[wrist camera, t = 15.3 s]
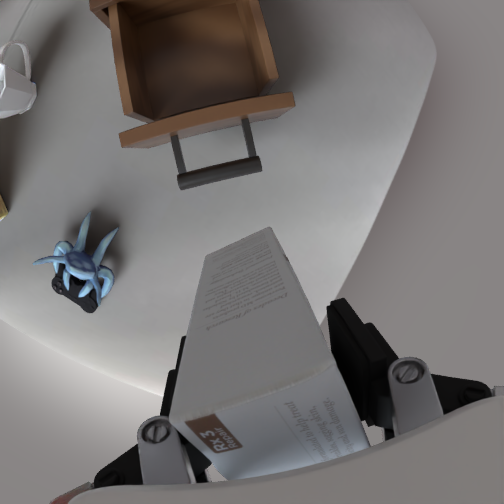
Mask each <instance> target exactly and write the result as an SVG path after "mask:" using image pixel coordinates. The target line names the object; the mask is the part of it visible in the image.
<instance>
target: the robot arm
mask: <svg viewBox="0 0 504 504" xmlns="http://www.w3.org/2000/svg"><path fill="white" fill-rule="evenodd" d="M327 317H328V325H329V334H330V343H331V353H332V355H333V357H334V359H335V361H336V365H337V368H338V370H339V372H340V374H341V376H342V378H343V380H344V382H345V384H346V387H347V389H348V391H349V394H350V396H351V399H352V401H353V403H354V406H355V408H356V410H357V413H358V415H359V418H360V420H361V421H364V420H365V421H366V423H367V425H368V427H369V426H372V425H375V426H378V427H382V436H383V442H382V443H380V444H377V445H374V446H371V447H369V448H366V449H363V450H360V451H357V452H354V453H351V454H348V455H345V456H342V457H338V458H335V459H332V460H328V461H325V462H321V463H317V464H314V465H310V466H306V467H302V468H297V469H293V470H289V471H284V472H279V473H274V474H268V475H263V476H257V477H251V478H244V479H237V480H228V481H220V482H212V481H211V478H210V476H209V473H208V470H207V468H208V467H209V466H210V465H211V464H212V462H211V461H210V460H209V459H208V458H207V457H206V456H205V455H204V454H203V453H202V452H201V451H199V450H198V449H197V448H196V447H195V446H194V445H193V444H192V443H191V442H190V441H188V440H187V439H186V438H185V437H184V436H183V435H182V434H181V433H180V432H179V431H178V430H177V429H176V428H175V427H174V426H173V425H172V424H171V423H170V421H169V414H170V410H171V406H172V400H173V395H174V391H175V386H176V381H177V376H178V372H179V367H180V362H181V358H182V353H183V349H184V344H185V340H186V336H183V337H182V338H181V343H180V348H179V353H178V358H177V363H176V369H174V370H170V371H169V373H168V377H167V382H166V387H165V392H164V397H163V402H162V407H161V412H160V416H155V417H152V418H149V419H148V420H146V421H145V422H143V423H142V425H141V426H140V427H139V429H138V432H137V440H138V444H136V445H135V446H134V447H132V448H131V449H130V450H128V451H127V452H125V453H124V454H123V455H121V456H120V457H118V458H117V459H116V460H114V461H113V462H111V463H110V464H108V465H107V466H105V467H104V468H103V469H101V470H100V471H99V472H98V473H97V475H96V476H95V479H94V483H92V484H91V483H90V482H87V483H85V484H83V485H81V486H79V487H77V488H75V489H73V490H71V491H69V492H67V493H65V494H63V495H61V496H59V497H57V498H55V499H53V500H52V501H51V502H50V504H504V386H494V388H493V389H490V388H489V387H488V386H487V385H486V384H484V383H482V382H479V381H473V380H467V379H460V378H452V377H447V376H441V375H435V374H430V371H429V368H428V366H427V365H426V363H425V362H424V361H422V360H421V359H418V358H414V357H404V358H400V359H399V358H398V356H397V355H396V354H395V353H394V351H393V350H392V349H391V347H390V346H389V344H388V343H387V342H386V340H385V339H384V338H383V336H382V335H381V334H380V333H379V331H378V330H377V329H376V327H375V326H374V325H373V324H372V323H366V324H363V322H362V321H361V319H360V318H359V317H358V315H357V314H356V313H355V311H354V310H353V309H352V307H351V306H350V305H349V304H348V302H347V301H346V299H345V298H341V299H337V300H334V301H331V302H330V305H329V306H327Z"/></svg>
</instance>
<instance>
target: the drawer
mask: <svg viewBox="0 0 504 504" xmlns="http://www.w3.org/2000/svg"><path fill="white" fill-rule="evenodd" d="M108 10H109V20H110V29H111V37H112V45H113V52H114V59H115V66H116V72H117V78H118V84H119V90H120V96H121V101H122V106H123V111H124V115H126V116H129V117H132V118H135V119H138V120H140V121H143V122H146V123H148V124H145V125H142V126H139V127H136V128H133V129H130V130H127V131H124V132H121V133H119V138H120V142H121V147H122V148H151V147H155V146H158V145H161V144H165V143H168V142H171V143H172V147H173V151H174V156H175V160H176V164H177V168H178V172H179V174H178V175H177V181H178V185H179V188H180V190H185V189H189V188H193V187H197V186H201V185H205V184H209V183H213V182H217V181H221V180H226V179H230V178H234V177H239V176H243V175H248V174H252V173H257V172H261V171H262V165H261V161H260V158H259V156H256V151H255V146H254V142H253V137H252V133H251V128H250V123H252V122H257V121H263V120H268V119H274V118H278V117H279V116H281V115H282V114H284V113H285V112H287V111H288V110H290V109H292V108H293V107H295V101H294V96H293V93H292V92H286V93H279V94H272V95H266V94H267V93H268V91H269V90H270V89H271V87H272V86H273V85H274V83H275V82H276V81H277V79H278V78H279V75H278V71H277V67H276V63H275V59H274V55H273V51H272V47H271V43H270V39H269V36H268V32H267V28H266V25H265V21H264V18H263V14H262V11H261V7H260V4H259V1H258V0H124V1H122V2H119V3H116V4H114V5H111V6H109V7H108ZM265 95H266V96H265ZM237 125H242V128H243V132H244V137H245V141H246V146H247V150H248V155H249V158H244V159H239V160H235V161H230V162H226V163H222V164H217V165H213V166H209V167H205V168H201V169H197V170H193V171H189V172H186V168H185V163H184V159H183V155H182V151H181V146H180V142H179V139H183V138H187V137H190V136H194V135H198V134H202V133H206V132H210V131H215V130H219V129H223V128H228V127H233V126H237Z"/></svg>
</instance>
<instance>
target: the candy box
mask: <svg viewBox="0 0 504 504" xmlns="http://www.w3.org/2000/svg"><path fill="white" fill-rule="evenodd" d="M7 214H8V211H7V209H6V207H5V204H4V202H3V199H2V197H1V194H0V221H1V220H2V219H3V218H4V217H5V216H6V215H7Z"/></svg>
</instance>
